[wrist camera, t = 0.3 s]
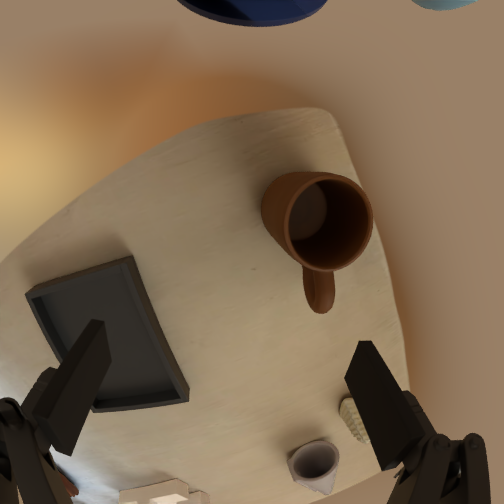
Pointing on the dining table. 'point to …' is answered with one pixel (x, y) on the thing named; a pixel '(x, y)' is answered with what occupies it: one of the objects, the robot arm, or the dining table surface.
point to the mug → (318, 227)
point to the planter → (315, 466)
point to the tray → (113, 334)
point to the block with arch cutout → (163, 494)
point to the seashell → (353, 420)
